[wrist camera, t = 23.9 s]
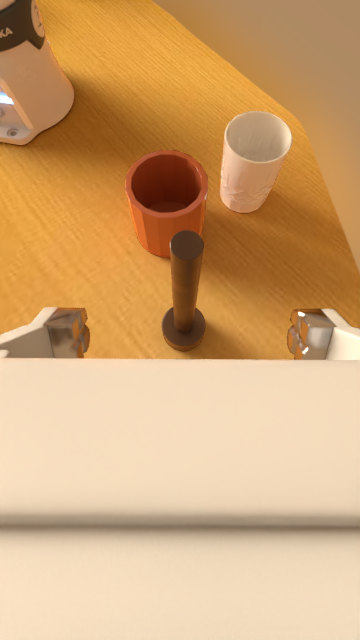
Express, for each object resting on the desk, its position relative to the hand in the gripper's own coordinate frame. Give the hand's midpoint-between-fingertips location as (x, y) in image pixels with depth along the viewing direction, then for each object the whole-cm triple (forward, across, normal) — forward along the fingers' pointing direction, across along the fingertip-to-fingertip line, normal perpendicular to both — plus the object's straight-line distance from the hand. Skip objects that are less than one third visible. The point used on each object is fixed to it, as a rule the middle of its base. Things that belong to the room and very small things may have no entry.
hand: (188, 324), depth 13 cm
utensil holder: (+35, +2, +3) cm, 35 cm away
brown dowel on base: (+24, 0, +14) cm, 28 cm away
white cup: (+39, -9, 0) cm, 40 cm away
